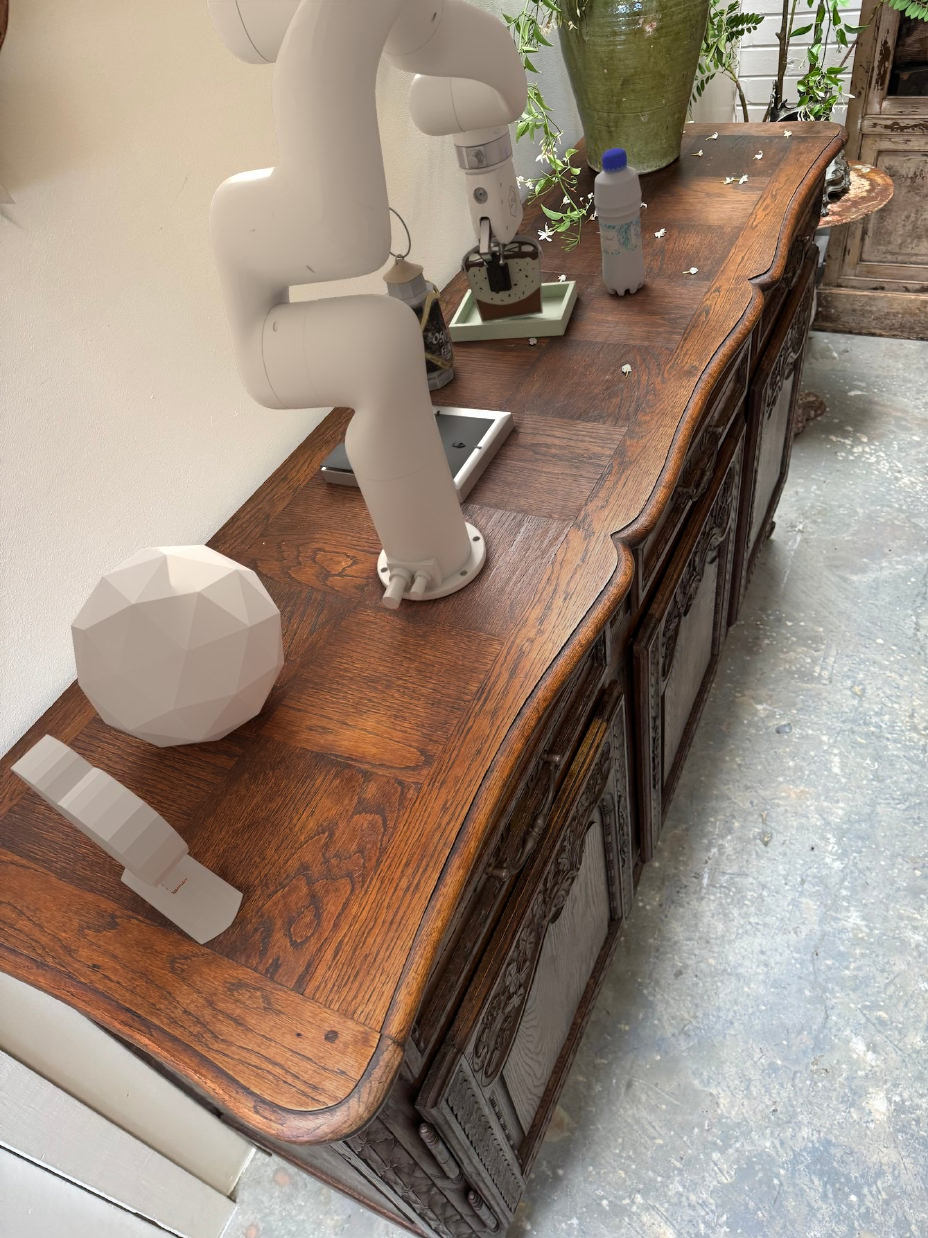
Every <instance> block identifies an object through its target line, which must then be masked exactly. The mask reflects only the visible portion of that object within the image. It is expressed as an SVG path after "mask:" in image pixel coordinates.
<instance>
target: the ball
mask: <svg viewBox="0 0 928 1238" xmlns="http://www.w3.org/2000/svg"><path fill="white" fill-rule="evenodd" d="M70 630H71V637H72V645H73V646H72V647H73V653H74V660H75V669H76V676H77V677H76V678H77V684H78V687H79V688H80V689H81V690H82V692H83V693H84V695H85V696H86V698H87V699H88V701H89V702H90V704H91V705H92V707H93V708H94V709H95V711H96V712H97V714H98V715H99V716H100V718H101V719H102V721H103V722H104V724H105V725H108V726H110V727H112V728H115V729H117V730H119V731H122V732H124V733H127V734H128V735H131V736H134V737H135V738H138V739H140V740H141V741H144V742H147V743H149V744H152V745H154V746H155V747H159V748H165V747H166V748H167V747H174V746H175V747H176V746H183V745H191V744H199V743H207V742H215V741H220V740H221V739H223V738H225V737H227V735H229V734H231V733H232V732H233V731H235V730H236V729H238V728H240V727H241V726H242V725H245V724H246V723H247V722H249V721H250V720H251V719H253V718H255V717H256V716H258V715H259V714H260V712H261V710H262V708H263V707H264V705H265V703H266V700H267V699H268V697H269V695H270V692H271V691H272V688H273V687H274V685H275V684H276V681H277V679H278V677H279V676H280V674H281V671H282V670H283V667H284V665H285V657H284V656H285V655H284V644H283V634H282V633H283V632H282V619H281V611H280V610H279V608H278V606H277V605H276V603H275V601H274V600H273V598H272V597H271V595H270V594H269V592H268V590H267V589H266V587H265V586H264V585H263V583H262V581H261V579H260V578H259V576H258V575H257V573H256V572H255V571H254V570H252V569H250V568H248V567H247V566H244V565H243V564H241V563H239V562H237V561H235V560H234V559H232V558H229V557H228V556H226V555H224V554H222V553H220V552H218V551H216V550H214V549H213V548H210V547H208V546H207V545H205V544H193V545H192V544H191V545H190V544H189V545H171V546H170V545H169V546H145V547H142V548H141V549H139V550H137V552H135V553H134V554H132V555H131V556H129V557H127V558H126V559H125V560H124V561H122V562H120V563H119V564H118V565H116V566H115V567H113V568H112V569H111V570H109V571H108V572H106V573H105V574H103V575H102V576H101V577H100V579H99V581H98V582H97V583H96V586H95V587H94V589H92V592H91V593H90V595H89V596H88V598H87V599H86V601H85V602H84V603H83V605H82V607H81V609H80V610H79V612H78V613H77V614H76V616H75V617H74V619H73V621H72V622H71V624H70Z"/></svg>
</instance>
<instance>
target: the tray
mask: <svg viewBox="0 0 928 1238" xmlns="http://www.w3.org/2000/svg"><path fill="white" fill-rule="evenodd" d="M576 281H577V280H569V281H568V280H567V281H555V282H545V283H544V282H541V286H542V307H543V313H542V314H535V315H529V316H523V317H517V318H511V319H505V320H498V321H492V322H482V321H481V318H480V315H479V312H478V309H477V306H476V303H475V300H474V297H473V294H472V291H471V288H469V289H467V291H466V293H465V295H464V296H463V298H462V300H461V302H460V304H459V306H458V308H457V310H456V312H455V313H454V315H453V317H452V319H451V321H450V323H449V325H448V332H449V335H450V336H449V337H450V339H451V340H450V341H451V342H452V343H454V342H455V343H456V342H471V341H487V340H488V341H490V340H502V339H503V340H504V339H505V340H506V339H521V338H537V337H555V336H556V337H557V336H564V334H565V331H566V330H567V326H568V323H569V320H570V317H571V315H572V312H573V309H574V307H575V304H576V301H577V298H578V289H577V282H576Z"/></svg>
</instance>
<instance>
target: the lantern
mask: <svg viewBox="0 0 928 1238" xmlns="http://www.w3.org/2000/svg"><path fill="white" fill-rule="evenodd" d="M389 210H390V212H392V213H394V214H395V215H396V217H397V218H398V219H399V221H400V222H401V223H402V225H403V227H404V229H405V232H406V235H407V241H408V249H407V252H406V253H405V254H404V255H403V254H402V253H397V254H395V253H393V252H391V251H390V256H393V257H394V263H393V264H392V266H391V268H390V269H388V271H386V272H385V273H384V274H383V276H382V280H383V281H384V283H386V288H387V292H386V293H385V294H384V295H387V296H391V297H394V298H397V299H399V300H401V301H403V302H404V303H406V304H407V305H408V306H409V307H410V308H411V309H412V310H413V311H414V313H415V314H416V316H417V318H418V320H419V323H420V327H421V331H422V335H423V342H424V352H425V363H426V373H427V381H428V387H429V392H430V391H434V390H438V389H441V388H442V387H444V386H445V385H446V384H448V383H449V382H450V381H451V380H453V379H454V367H453V366H454V362H455V352H454V351H453V347H452V343H451V340H450V339H451V338H450V336H449V333H448V332H449V331H448V329H447V325H446V322H445V318H444V315H443V311H442V309H441V304H440V299H441V292H440V290H439V289H438V287H437V285H436V284H434V283H433V282H432V281H430V280H429V279H425V276H424V274H423V272H424V267H423V265H420V264H417V263H413V262H410V261H408V260H406V259H405V258H406V257H408V255H409V254H410V251H411V248H412V241H411V240H412V239H411V236H410V231H409V229H408V226H407V225H406V223H405V221H404V220H403V218H402V217H401V216H400V214H399V213H398V212H397V211H396V210H395V209H393V208H392V207H390V206H389Z"/></svg>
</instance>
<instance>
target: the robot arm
mask: <svg viewBox="0 0 928 1238" xmlns="http://www.w3.org/2000/svg"><path fill="white" fill-rule="evenodd" d="M206 7H207V12H208V15H209V17H210V21H211V24H212V26H213V28H214V31H215V33H216V35H217V36H218V38H219V40H220V42H221V43H222V44H223V45H224V47H226V49H227V51H229V52H230V53H231V54H232V55H233V56H235V58H237V59H239V60H240V61H242V62H245V63H247V64H250V65H267V64H273V63H275V64H274V67H273V72H272V78H271V86H270V103H271V111H272V115H273V121H274V122H273V123H274V128H275V129H274V130H275V137H276V143H277V151H278V161H277V165H275V166H271V167H266V168H258V169H253V170H248V171H243V172H239V173H237V174H234V175H232V176H229V177H227V178H226V179H225V180H223V181H222V182H221V183H220V184H219V185H218V187H217V188H216V189H215V191H214V193H213V195H212V199H211V201H210V206H209V211H208V220H207V221H208V228H207V229H208V230H207V231H208V241H209V247H210V253H211V258H212V259H211V260H212V263H213V268H214V272H215V277H216V281H217V286H218V290H219V295H220V299H221V304H222V309H223V313H224V318H225V323H226V326H227V332H228V336H229V340H230V344H231V345H230V346H231V349H232V353H233V358H234V362H235V365H236V369H237V372H238V375H239V378H240V381H241V383H242V385H243V387H244V389H245V391H246V393H247V394H248V395H249V397H250V398H251V399H252V400H253V401H254V402H255V403H256V404H258V405H260V406H261V407H264V408H266V409H270V410H278V411H279V410H284V411H286V410H287V411H288V410H306V409H319V408H349V409H352V410H354V414H353V415H352V418H351V420H350V422H349V423H348V426H347V429H346V431H345V436H344V442H345V449H346V453H347V457H348V460H349V462H350V465H351V467H352V469H353V472H354V474H355V477H356V479H357V482H358V485H359V487H358V488H359V490H360V493H361V494H362V498H363V500H364V503H365V505H366V508H367V510H368V514H369V515H370V518H371V521H372V524H373V526H374V528H375V531H376V533H377V536H378V538H379V541H380V544H381V547H382V549H381V551H380V553H379V556H378V558H377V563H376V566H377V567H376V568H377V573H378V577H379V580H380V581H381V584H382V585H383V586H384V588H385V589H386V590H385V591H384V594H383V596H382V598H381V603H382V605H383V606H384V607H385V608H387V609H391V610H395V609H398V608H399V606H400V604H401V602H402V599H405V600H411V601H430V600H435V599H439V598H443V597H446V596H448V595H451V594H453V593H456V592H457V591H459V590H461V589H463V588H465V586H467V585H468V584H469V583H471V582H472V581H473V580H474V579H475V577H477V576H478V574H479V573H480V572H481V571H482V569H483V567H484V566H485V565H484V564H485V562H486V559H487V546H486V542H485V539H484V536H483V534H482V532H481V531H480V530H479V529H478V528H477V527H476V526H474V525H473V524H471V523H469V522H467V521H466V520H465V518H464V515H463V511H462V507H461V502H459V500H458V496H457V493H456V489H455V486H454V482H453V479H452V475H451V472H450V468H449V465H448V461H447V458H446V454H445V451H444V447H443V443H442V440H441V437H440V433H439V430H438V426H437V423H436V419H435V415H434V411H433V407H432V406H433V403H432V399H431V394H430V391H429V387H428V381H427V373H426V363H425V352H424V342H423V335H422V331H421V327H420V323H419V320H418V318H417V316H416V314H415V313H414V311H413V310H412V309H411V308H410V307H409V306H408V305H407V304H406V303H404V302H403V301H401V300H399V299H397V298H394V297H391V296H387V295H385V294H379V293H378V294H377V293H360V294H359V293H358V294H351V295H342V296H341V295H340V296H334V297H324V298H317V299H311V300H303V301H301V300H300V301H294V302H291V301H290V287H292V286H301V285H310V284H319V283H326V282H333V281H334V282H335V281H341V280H342V281H343V280H348V279H349V280H350V279H355V278H359V277H363V276H367V275H370V274H372V273H375V272H378V271H379V270H380V269H381V268H383V267H384V266H385V265H386V263H387V261H388V260H389V258H390V256H391V254H390V252H391V249H392V238H393V237H392V222H391V210H389V207H390V203H389V195H388V188H387V181H386V179H387V178H386V171H385V165H384V157H383V150H382V144H381V143H382V142H381V135H380V128H379V119H378V112H377V111H378V110H377V96H376V88H377V86H376V85H377V76H378V75H377V74H378V69H379V63H380V60H381V56H382V57H383V58H384V60H385V61H386V62H388V63H389V64H390V65H391V66H393V67H394V68H395V69H398V70H399V71H403V72H406V73H410V74H414V75H415V76H414V77H413V79H412V81H411V83H410V87H409V91H408V97H407V103H408V110H409V114H410V117H411V119H412V120H411V121H412V122H413V124H414V126H415V127H416V128H417V130H419V131H420V132H421V133H423V134H425V135H427V136H431V137H443V136H449V135H451V137H452V142H453V146H454V151H455V157H456V161H457V165H458V170H459V171H460V172H461V173H464V176H465V177H464V178H465V179H464V180H465V186H466V194H467V195H466V196H467V200H468V207H469V208H468V209H469V213H470V214H469V215H470V220H471V224H472V230H473V234H474V238H475V242H476V244H477V245H479V246H480V255H481V256H482V258H483V260H484V265H485V267H486V271H487V276H488V281H489V286H490V291H491V292H501V291H510V290H511V288H512V284H511V279H510V273H509V268H508V262H506V263H505V255H504V243H505V244H509V243H510V242H511V241H512V239H513V237H514V235H519V227H520V225H521V223H522V221H523V218H524V210H523V204H522V199H521V194H520V189H519V185H518V179H517V175H516V171H515V167H514V163H513V160H512V159H513V158H514V153H513V145H512V141H511V134H510V129H509V124H513V123H515V122H516V121H518V120H519V119H520V118H521V117H522V115H523V114H524V113H525V111H526V107H527V103H528V97H529V87H528V86H529V85H528V84H529V83H528V78H527V74H526V70H525V66H524V63H523V60H522V57H521V54H520V52H519V50H518V48H517V45H516V44H515V41H514V39H513V37H512V34H511V32H510V30H509V29H508V27H507V26H506V25H505V24H504V22H503V21H502V20H500V19H499V17H497V16H496V15H494V14H492V13H491V12H489V11H487V10H486V9H483V8H481V7H479V6H477V5H475V4H473V3H471V2H469V1H467V0H206ZM495 238H497V239H498V241H499V242H491V239H495ZM491 247H498V253H499V256H498V254H497V253H496V252H493V250H492V248H491Z"/></svg>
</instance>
